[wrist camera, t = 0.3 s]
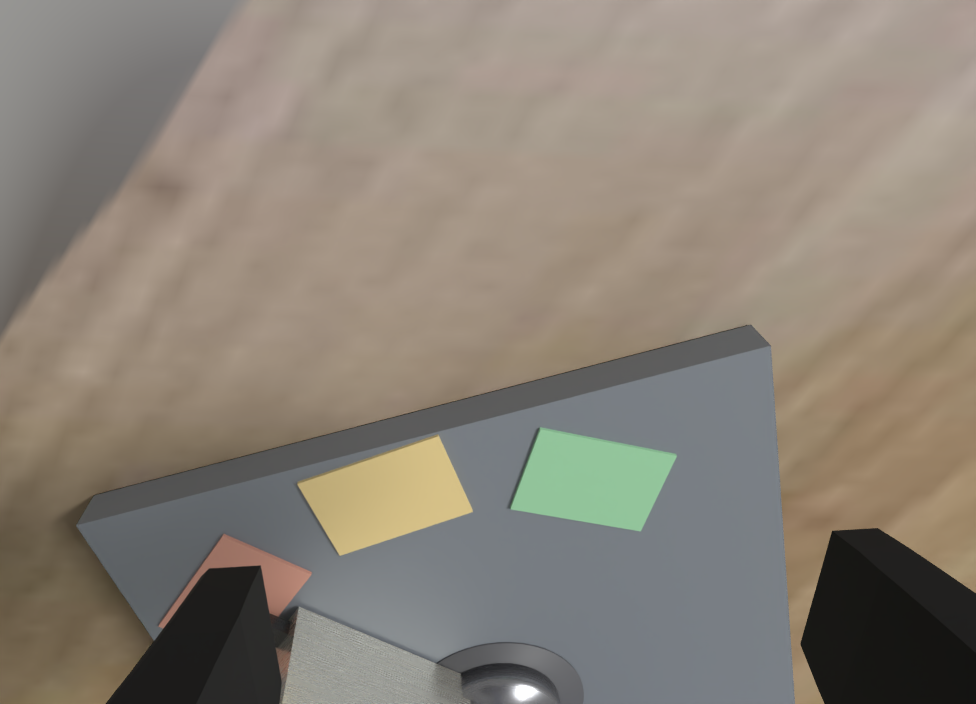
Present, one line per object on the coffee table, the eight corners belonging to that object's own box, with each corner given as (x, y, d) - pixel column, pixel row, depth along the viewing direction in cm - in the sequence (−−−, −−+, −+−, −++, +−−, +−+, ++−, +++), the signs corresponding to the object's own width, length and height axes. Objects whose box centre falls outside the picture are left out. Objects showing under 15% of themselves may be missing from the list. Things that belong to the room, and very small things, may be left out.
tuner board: (780, 690, 26) (797, 723, 25) (295, 808, 27) (290, 846, 26) (750, 325, 19) (772, 347, 18) (93, 495, 20) (74, 527, 19)
